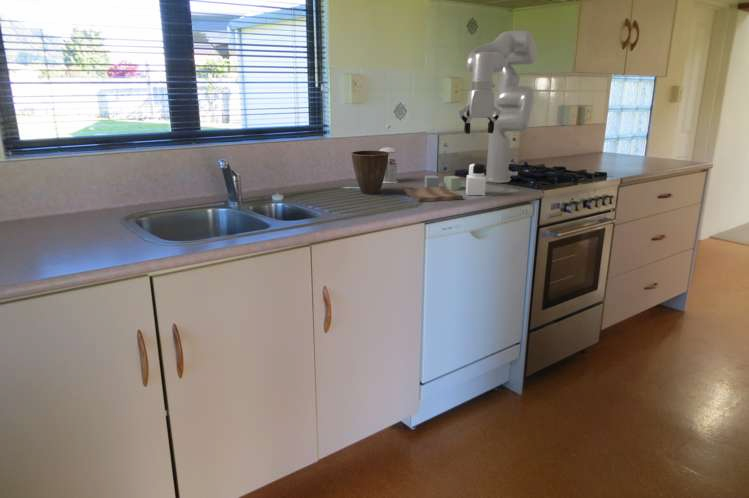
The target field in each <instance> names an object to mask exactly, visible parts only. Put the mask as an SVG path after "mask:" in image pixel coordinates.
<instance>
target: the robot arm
mask: <svg viewBox="0 0 749 498" xmlns="http://www.w3.org/2000/svg"><path fill="white" fill-rule="evenodd" d="M537 57H538V48H537V44H536V42H535V39H534V37H533V35H532V34H531V32H530V31H528V30H508V31H507V30H505V31H504V32H501V33H500V34H499V35H498V36H497V37H496V38H495V39H494V40H493V41H491V42H488V43H485V44H482V45H479V46H478V47H475V48H474V49H473V50H472V51H471V52H470V53H469V55H468V57H467V60H466V68H467V71H469V73H471V74H472V78H471V90H469V91H468V94H467V98H466V99H467V100H466V105H465V106H466V107H464V108H462V109H460V110H459V111H458V114H459V116H460V119H461V120H462V122H463V123H464V127H463V129H464V134H467V135H470V133H471V121H472V119H483V118H485V119H486V118H487V133H488V142H487V143H488V145H487V156H486V157H487V158H486V172H485V175H484V176H485V177H486V183H494V184H495V183H497V184H500V183H509V182H511V181H512V178H511V177H517V176H518V175H519V173H518V171H512V170H510V169H509V164H510V151H511V139H510V137H509V135H508V133H507V132H514V133H516V132H517V133H518V132H525V131H526V130H527V129H528V126H529V124H530V118H531V113H532V109H533V105H534V104H533V103H534V90H533V88H531V87H530V86H528V85H520V84H519V83H520V79H521V78H520V74H519V73H518V71H517V70H516V69H515V67H514V66H515V65H516V66H518V65H519V66H520V65H521V66H523V65H525V66H527V65H532V64H534V63H535V62H536V60H537ZM498 73H499V82H498V86H497V91H496V97H495V95H494V94H495V93H494V90H493V89H494V88H495V87H496V84H495V83H494V82H493V75H494V74H498ZM495 104H496V106H497V107H496V106H495ZM510 180H511V181H510Z"/></svg>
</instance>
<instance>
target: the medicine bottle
mask: <svg viewBox="0 0 749 498" xmlns="http://www.w3.org/2000/svg"><path fill="white" fill-rule="evenodd" d="M468 165H469V166H468V174H467V175H466V182H465V194H466V196H468V195H483V196H482V197H485V196H486V186H487V181H486V177H485V176H486V175H485V169H486V168H485V167H486V166H485V164H482V163H471V164H468Z"/></svg>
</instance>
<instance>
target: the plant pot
mask: <svg viewBox="0 0 749 498" xmlns="http://www.w3.org/2000/svg"><path fill="white" fill-rule="evenodd" d="M389 154H390V153H388V152H385V151H379V150H357V151H352V152H351V160H352V166H353V171H354V175H355V178H356V182H357V184H358V187H359V190H360V192H361V193H362V194H367V195H369V194H370V195H374V194H379V193H380V192H381V189H382V186H383V184H382V183H383V180H384V177H385V173H386V168H387V162H388V158H389V156H390V155H389Z"/></svg>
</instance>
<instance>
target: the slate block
mask: <svg viewBox="0 0 749 498" xmlns="http://www.w3.org/2000/svg"><path fill="white" fill-rule="evenodd" d="M439 183H440V177H439V176H437V175H424V188H428V187H440V186H439Z"/></svg>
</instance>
